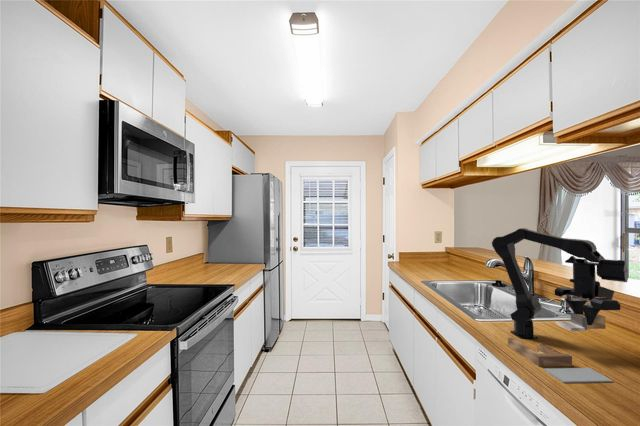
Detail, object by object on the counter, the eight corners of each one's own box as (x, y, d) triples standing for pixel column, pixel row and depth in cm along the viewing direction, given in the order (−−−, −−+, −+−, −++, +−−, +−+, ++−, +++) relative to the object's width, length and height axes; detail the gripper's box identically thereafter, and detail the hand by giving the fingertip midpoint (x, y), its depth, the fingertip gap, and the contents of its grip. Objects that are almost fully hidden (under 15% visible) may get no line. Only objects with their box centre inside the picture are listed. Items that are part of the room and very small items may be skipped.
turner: (592, 323, 103) (592, 312, 103) (610, 330, 97) (609, 318, 97) (556, 324, 103) (556, 312, 103) (571, 331, 97) (570, 318, 97)
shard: (538, 346, 106) (538, 341, 106) (566, 352, 101) (566, 347, 101) (534, 356, 98) (534, 351, 98) (564, 364, 93) (564, 358, 93)
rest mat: (543, 369, 89) (543, 368, 89) (589, 369, 89) (589, 367, 89) (563, 382, 82) (563, 381, 82) (612, 381, 82) (612, 380, 82)
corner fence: (508, 345, 106) (507, 337, 106) (537, 345, 106) (536, 337, 106) (538, 366, 91) (538, 356, 91) (572, 365, 91) (572, 356, 91)
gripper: (637, 283, 91) (638, 333, 91) (582, 271, 110) (583, 314, 109) (601, 283, 91) (603, 334, 90) (553, 272, 109) (553, 314, 109)
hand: (585, 323), depth 100 cm, fingers closed on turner, 3 cm apart
